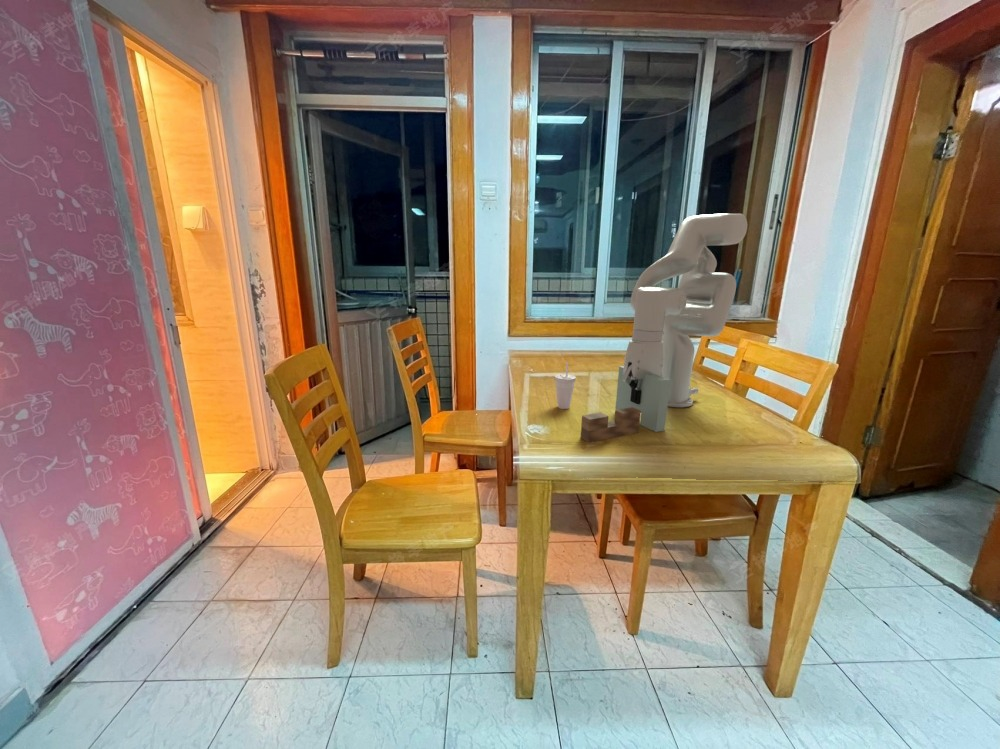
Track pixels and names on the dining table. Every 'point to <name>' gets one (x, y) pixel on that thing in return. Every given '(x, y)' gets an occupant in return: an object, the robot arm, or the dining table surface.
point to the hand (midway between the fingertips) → (640, 401)
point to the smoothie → (564, 389)
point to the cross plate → (646, 399)
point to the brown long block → (610, 424)
